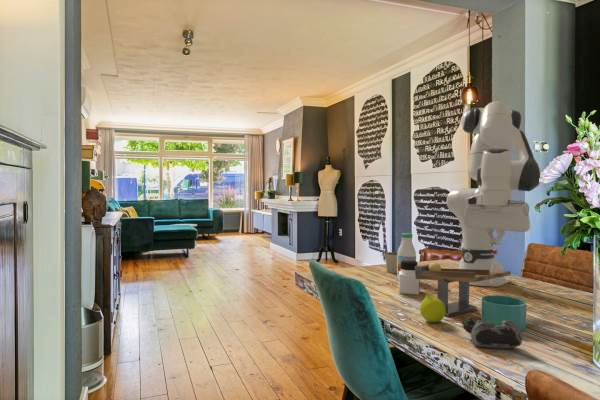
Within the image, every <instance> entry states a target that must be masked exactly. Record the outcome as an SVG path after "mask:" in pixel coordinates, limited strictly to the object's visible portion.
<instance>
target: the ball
mask: <svg viewBox="0 0 600 400" xmlns="http://www.w3.org/2000/svg"><path fill="white" fill-rule="evenodd" d="M429 264H430V265H429V271H441V268H442V266H441V265H440V263H438V262H431V263H429Z"/></svg>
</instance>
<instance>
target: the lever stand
mask: <svg viewBox="0 0 600 400" xmlns="http://www.w3.org/2000/svg"><path fill="white" fill-rule="evenodd" d="M436 298H438V299H439V300H441V301H442V302H443V304H444V306H445V309H446V313H445V316H444V317H448V318H450V317H454V316H458V315H462V314H465V313H468V312H472V311H473V312H474V311H477V310H478V309H477V308H478V306H476V305H471V304H470V285H469V282H461V281H458V301H454V302H451V303H450V302H449V283H448V282H447V281H444V280H437V297H436Z"/></svg>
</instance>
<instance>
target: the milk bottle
mask: <svg viewBox="0 0 600 400" xmlns="http://www.w3.org/2000/svg"><path fill="white" fill-rule="evenodd" d="M400 236H401V237H400V238H401V242H400V246H399V247H398V249H397V252H398V253H397V273H396V279H397V281H398V282H399V271H401V261H402V260H415V261H417V254H416V253H417V252H416V249H415V247H414V244H413V233H412V232H410V233H409V232H402V233H401V235H400Z"/></svg>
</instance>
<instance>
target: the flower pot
mask: <svg viewBox="0 0 600 400" xmlns="http://www.w3.org/2000/svg"><path fill="white" fill-rule="evenodd" d="M397 253H398V251H397V252H393V251H392V252H391V251H390V252H389V251H387V252H383V255H384V258H385V263H386V272H387V273H390V274H397Z"/></svg>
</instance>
